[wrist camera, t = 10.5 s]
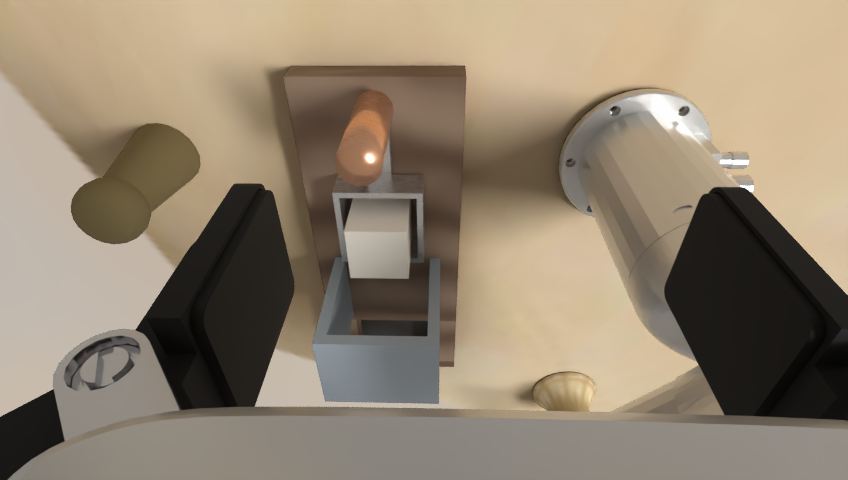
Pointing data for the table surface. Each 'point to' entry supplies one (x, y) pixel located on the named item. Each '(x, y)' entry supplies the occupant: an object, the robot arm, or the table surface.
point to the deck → (411, 155)
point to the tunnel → (375, 351)
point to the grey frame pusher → (373, 167)
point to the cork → (135, 184)
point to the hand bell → (565, 392)
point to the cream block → (379, 238)
